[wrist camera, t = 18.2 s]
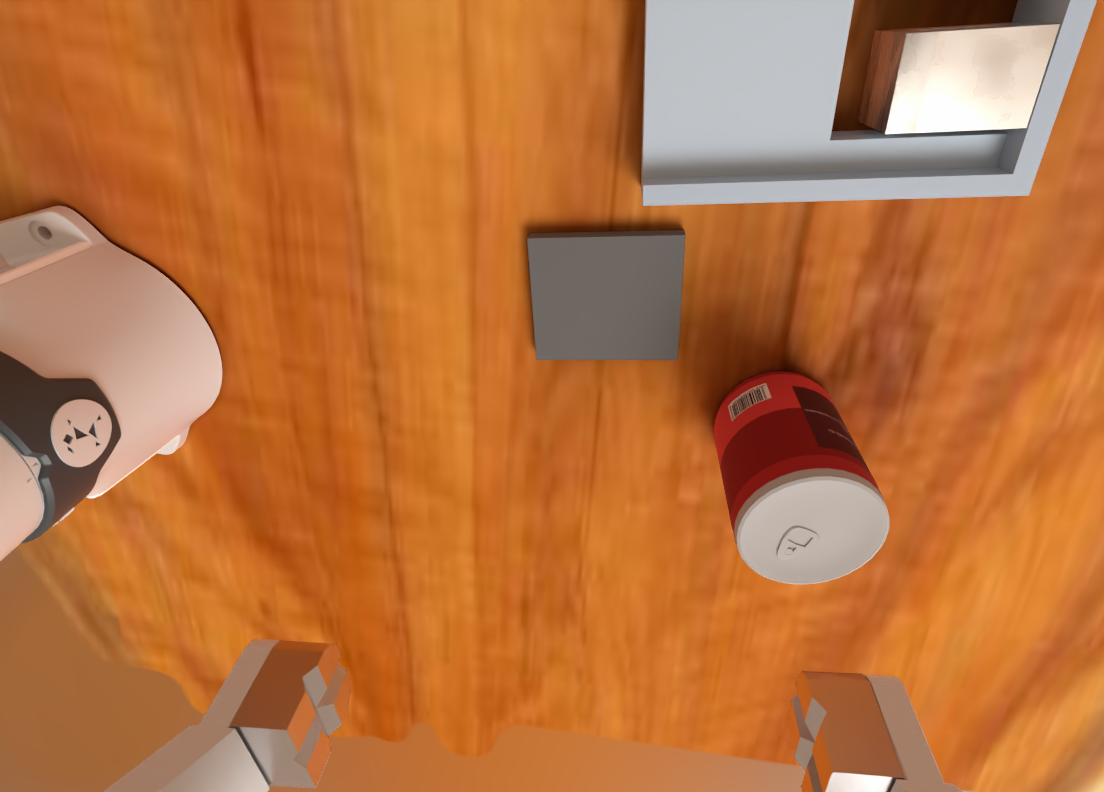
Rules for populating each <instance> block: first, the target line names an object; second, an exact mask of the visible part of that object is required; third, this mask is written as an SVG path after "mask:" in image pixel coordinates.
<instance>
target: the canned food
mask: <svg viewBox="0 0 1104 792" xmlns="http://www.w3.org/2000/svg"><path fill="white" fill-rule="evenodd" d="M714 438H715V443H716V448H717V453H718V459H719V464H720V469H721V474H722V479H723V484H724V489H725V494H726V499H727V504H728V509H729V514H730V519H731V525H732V529H733V532H734V537H735V542H736V544H737V547H738V550H739V552H740V554H741V557H742V559H743V560H744V561H745V562H746V564H747V565H748V566H749V567H750V568H752V569H753V570H754V571H755V572H757V573H758V574H760V575H762V576H764V577H766V578H768V579H771V580H775V581H778V582H782V583H789V584H814V583H822V582H826V581H830V580H833V579H837V578H839V577H842V576H844V575H847V574H849V573H851V572H853V571H854V570H856V569H858V568H860V567H861V566H863V565H864V564H865V563H866V562H868V561H869V560H870V559H871V558H872V557H873V556H874V555H875V554H876V553H877V552H878V551H879V549H880V548H881V546H882V545H883V543H884V541H885V539H886V537H887V533H888V530H889V514H888V511H887V507H886V505H885V501H884V498H883V496H882V495H881V493H880V491H879V489H878V486H877V484H876V482H875V480H874V478H873V477H872V475H871V473H870V471H869V469H868V467H867V465H866V463H865V462H864V460H863V458H862V456H861V454H860V452H859V450H858V449H857V447H856V445H855V443H854V441H853V439H852V437H851V435H850V434H849V432H848V430H847V428H846V426H845V424H844V422H843V420H842V419H841V417H840V415H839V413H838V411H837V409H836V407H835V405H834V404H833V402H832V400H831V398H830V397H829V395H828V394H827V392H826V391H825V390H824V389H823V388H822V387H821V386H820V385H819V384H817V383H816V382H814V381H812V380H811V379H809V378H807V377H805V376H803V375H800V374H797V373H794V372H787V371H772V372H767V373H762V374H759V375H756V376H753V377H751V378H749V379H747V380H745V381H743V382H742V383H740V384H739V385H737V386H736V387H735V388H734V389H732V390H731V391H730V392H729V394H728V395H727V396H726V397H725V398H724V400H723V402H722V403H721V405H720V407H719V409H718V413H717V416H716V419H715V422H714Z"/></svg>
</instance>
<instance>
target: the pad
mask: <svg viewBox="0 0 1104 792" xmlns="http://www.w3.org/2000/svg"><path fill="white" fill-rule="evenodd" d="M527 243H528V256H529V269H530V282H531V295H532V308H533V321H534V334H535V347H536V360H678V346H679V330H680V314H681V298H682V281H683V265H684V249H685V232H684V230H649V231H604V232H559V233H529V235H528V238H527Z"/></svg>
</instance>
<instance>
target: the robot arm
mask: <svg viewBox="0 0 1104 792" xmlns="http://www.w3.org/2000/svg"><path fill="white" fill-rule="evenodd" d="M47 228H48V229H49V230H50V232H51V233H50V232H49V231H48V229H47ZM221 383H222V362H221V357H220V352H219V349H218V346H217V343H216V340H215V338H214V336H213V333H212V331H211V329H210V327H209V326H208V324H207V322H206V321H205V319H204V317H203V316H202V314H201V313H200V312H199V310H198V309H197V308H196V306H195V305H194V304H193V303H192V301H191V300H190V299H189V298H188V297H187V296H186V295H185V294H184V293H183V292H182V291H181V290H180V289H179V288H178V287H177V286H176V285H175V284H174V283H173V282H172V281H171V280H169V279H168V278H167V277H166V276H165V275H163V274H162V273H161V272H159V271H158V270H156V269H155V268H153V267H152V266H150V265H149V264H147V263H146V262H144V261H142V260H141V259H139V258H137V257H135V256H133V255H131V254H129V253H127V252H125V251H124V250H122V249H120V248H118V247H117V246H115V245H113V244H112V243H110V242H109V241H108V240H107V239H106V238H105V237H104V236H102V235H101V234H100V233H99V232H98V231H97V230H96V229H95V228H94V227H93V226H92V225H91V224H90V223H89V222H88V221H86V220H85V219H84V218H83V217H82V216H80V215H79V214H78V213H76V212H75V211H74V210H72V209H70V208H68V207H65V206H53V207H50V208H46V209H42V210H39V211H35V212H32V213H28V214H25V215H21V216H17V217H14V218H10V219H7V220H3V221H0V561H1V560H2V559H3V558H5V557H6V556H7V555H8V554H9V553H10V552H11V551H12V550H13V549H15V548H16V547H17V546H18V545H19V544H20V543H25V542H28V541H31V540H34V539H35V538H37V537H39V536H41V535H42V534H43V533H44V532H46V531H47V530H48V529H49V528H51V527H53V526H54V525H56V524H58V523H59V522H60V521H62V520H63V519H64V518H65V517H67V516H68V515H69V514H70V513H71V512H72V511H73V510H74V507H75V506H76V505H77V504H78V503H79V502H81V501H82V500H83V499H84V498H85V497H88V498H95V497H98V496H100V495H102V494H103V493H105V492H106V491H108V490H109V489H110V488H112V487H113V486H114V485H116V484H117V483H118V482H120V481H121V480H122V479H123V478H125V477H126V476H127V475H129V474H130V473H131V472H133V471H134V470H135V469H137V468H138V467H139V466H140V465H142V464H143V463H144V462H146V461H147V460H148V459H149V458H151V457H152V456H153V455H155V454H156V453H158V454H166V455H167V454H172V453H173V452H175V451H176V450H177V449H179V448H180V447H181V446H182V445H183V444H184V442H185V440H186V438H187V435H188V431H189V428H190V425H191V424H192V423H193V422H194V421H195V420H196V419H197V418H198V417H200V416H201V415H202V414H204V413H205V412H206V411H207V410H208V409H209V408H210V407H211V406H212V405H213V403H214V402H215V400H216V398H217V396H218V394H219V391H220V388H221ZM340 658H341V653H340V651H339V649H338V647H337V644H325V643H311V642H296V641H284V640H271V639H254V640H253V641H252V642H251V643H250V644H248V645H247V646H246V647H245V649H244V650H243V652H242V654H241V655H240V657H239V659H238V660H237V662H236V664H235V665H234V667H233V669H232V670H231V672H230V674H229V675H228V677H227V679H226V680H225V682H224V684H223V685H222V687H221V689H220V690H219V692H218V694H217V695H216V697H215V699H214V700H213V702H212V704H211V705H210V707H209V709H208V710H207V712H206V714H205V715H204V717H203V719H202V720H201V722H200V724H199V725H190V726H189V727H187V728H186V729H185V730H183V731H182V732H181V733H179V734H178V735H177V736H176V737H174V738H173V739H172V740H170V741H169V742H168V743H166V744H165V745H164V746H163V747H161V748H160V749H159V750H157V751H156V752H155V753H153V754H152V755H151V756H150V757H148V758H147V759H146V760H144V761H143V762H142V763H140V764H139V765H138V766H137V767H135V768H134V769H132V770H131V771H130V772H128V773H127V774H126V775H125V776H123V777H122V778H121V779H119V780H118V781H117V782H116V783H114V784H113V785H111V786H110V787H109V788H108V789H106V790H105V791H104V792H267V791H268V790H269V789H270V787H269V786H285V787H304V788H316V787H317V784H318V782H319V780H320V777H321V775H322V772H323V770H324V767H325V765H326V762H327V760H328V757H329V755H330V752H331V745H330V740H329V735H330V734H331V733H332V732H334V731H335V730H336V729H337V728H338V727H339V726H340V725H341V724H342V722H343V719H344V717H345V714H346V711H347V709H348V704H349V699H350V693H351V685H350V677H349V674H348V672H347V670H346V669H344V668H343V667H342V666H340V665H339V664H338V662H339V660H340ZM796 686H797V691H798V695H797V696H796V697H794V698H793V699H792V700H791V705H790V709H789V731H790V739H791V745H792V749H793V754H794V758H795V759H796V761H797V762H798V763H799V764H800V765H801V766H802V768H803V769H804V770H805V774H804V778H803V781H802V785H801V790H802V792H962V791H961V790H960V789H959V788H958V787H957V786H956V785H955V784H951V783H944V781H943V778H942V776H941V773H940V771H939V768H938V766H937V764H936V761H935V759H934V756H933V754H932V752H931V749H930V747H929V744H928V742H927V740H926V737H925V735H924V732H923V730H922V728H921V725H920V723H919V720H918V718H917V716H916V713H915V711H914V708H913V706H912V704H911V701H910V699H909V696H908V694H907V691H906V689H905V687H904V684H903V683H902V682H901V681H900V680H899V679H898V678H897V677H895V676H881V675H863V674H857V673H833V672H809V671H802V672H800V673H799V674H798V677H797V681H796Z"/></svg>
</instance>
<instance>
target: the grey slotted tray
mask: <svg viewBox="0 0 1104 792" xmlns="http://www.w3.org/2000/svg"><path fill="white" fill-rule="evenodd" d="M1096 1H1097V0H1018V2H1017V5H1016V9H1015V12H1014V16H1013V19H1012V22H1016V23H1024V25H1025V24H1041V23H1044V24H1060V26H1059V29H1058V32H1057V35H1056V39H1055V42H1054V45H1053V48H1052V51H1051V54H1050V57H1049V60H1048V63H1047V66H1046V70H1045V73H1044V76H1043V79H1042V82H1041V85H1040V88H1039V91H1038V94H1037V97H1036V100H1035V104H1034V107H1033V110H1032V113H1031V116H1030V119H1029V122H1028V125H1027V128H1018V129H995V130H972V131H949V132H926V133H903V134H884V133H882V132H879V131H877V130H852V131H832V126H833V120H834V115H835V109H836V103H837V97H838V91H839V86H840V80H841V74H842V68H843V63H844V57H845V51H846V45H847V40H848V34H849V28H850V22H851V16H852V11H853V5H854V0H645V33H644V78H643V123H642V169H641V191H642V203H643V206H655V205H693V204H730V203H767V202H805V201H842V200H879V199H917V198H954V197H991V196H1028V195H1029V193H1030V191H1031V188H1032V185H1033V182H1034V179H1035V176H1036V173H1037V170H1038V168H1039V165H1040V162H1041V159H1042V156H1043V153H1044V150H1045V147H1046V145H1047V142H1048V139H1049V136H1050V133H1051V130H1052V127H1053V125H1054V122H1055V119H1056V116H1057V113H1058V110H1059V107H1060V104H1061V102H1062V99H1063V96H1064V93H1065V90H1066V87H1067V84H1068V82H1069V79H1070V76H1071V73H1072V70H1073V67H1074V64H1075V61H1076V59H1077V56H1078V53H1079V50H1080V47H1081V44H1082V41H1083V39H1084V36H1085V33H1086V30H1087V27H1088V24H1089V21H1090V18H1091V16H1092V13H1093V10H1094V7H1095V4H1096Z"/></svg>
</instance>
